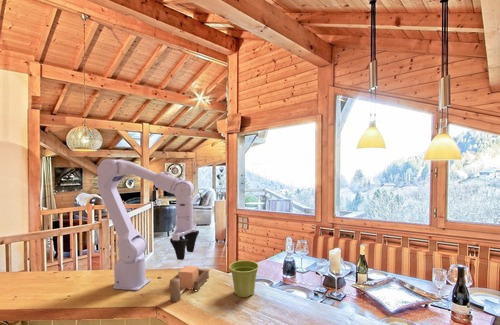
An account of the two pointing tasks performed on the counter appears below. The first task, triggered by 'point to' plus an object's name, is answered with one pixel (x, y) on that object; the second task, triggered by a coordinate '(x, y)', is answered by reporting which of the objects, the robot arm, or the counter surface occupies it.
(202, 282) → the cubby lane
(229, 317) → the counter surface
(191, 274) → the tethered block
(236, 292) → the plant pot
